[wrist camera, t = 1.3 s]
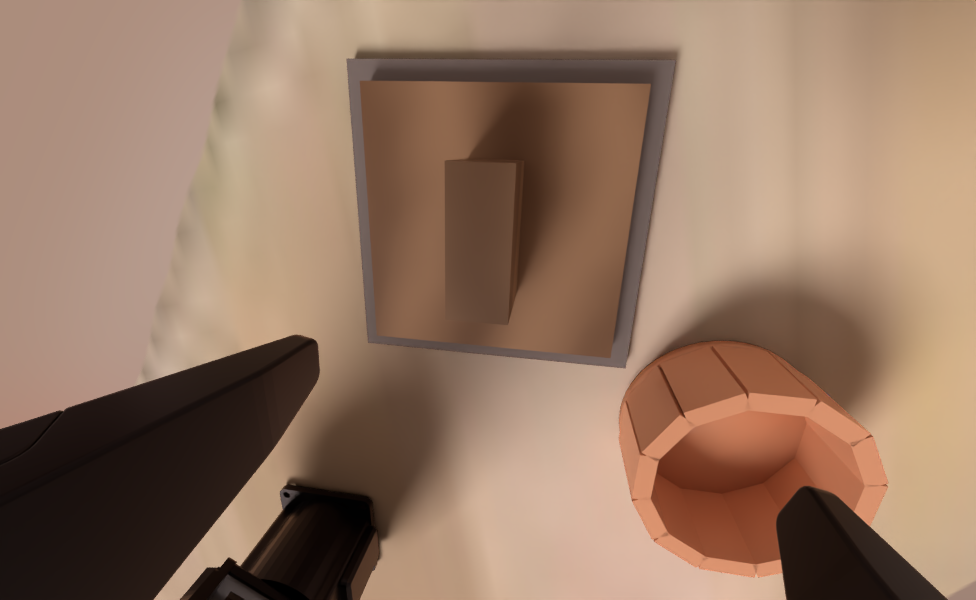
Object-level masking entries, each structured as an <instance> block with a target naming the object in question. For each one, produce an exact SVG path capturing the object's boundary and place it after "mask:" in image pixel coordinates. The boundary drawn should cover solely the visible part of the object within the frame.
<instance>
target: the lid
mask: <svg viewBox="0 0 976 600" xmlns="http://www.w3.org/2000/svg"><path fill="white" fill-rule="evenodd" d="M650 88H651V84H623V83H532V82H442V81H360V94H361V109H362V124H363V139H364V154H365V168H366V183H367V198H368V213H369V228H370V242H371V257H372V272H373V287H374V302H375V317H376V331H377V336H387V337H398V338H408V339H418V340H429V341H439V342H449V343H459V344H470V345H480V346H490V347H501V348H511V349H521V350H531V351H542V352H552V353H562V354H573V355H583V356H593V357H604V358H611V351H612V345H613V338H614V331H615V324H616V318H617V311H618V304H619V297H620V291H621V284H622V277H623V270H624V264H625V257H626V250H627V243H628V237H629V230H630V223H631V216H632V210H633V203H634V196H635V189H636V182H637V176H638V169H639V162H640V155H641V149H642V142H643V135H644V128H645V122H646V115H647V108H648V101H649V95H650Z"/></svg>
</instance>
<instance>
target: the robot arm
mask: <svg viewBox="0 0 976 600" xmlns="http://www.w3.org/2000/svg"><path fill="white" fill-rule="evenodd" d="M319 373H320V368H319V353H318V344H317V342H316V341H315V340H314V339H312V338H308V337H305V336H301V335H292V336H289V337H286V338H283V339H280V340H277V341H273V342H270V343H267V344H264V345H261V346H258V347H255V348H252V349H249V350H246V351H242V352H239V353H236V354H233V355H230V356H227V357H224V358H221V359H218V360H215V361H211V362H208V363H205V364H202V365H199V366H196V367H193V368H190V369H187V370H183V371H180V372H177V373H174V374H171V375H168V376H165V377H162V378H159V379H156V380H152V381H149V382H146V383H143V384H140V385H137V386H134V387H131V388H128V389H124V390H121V391H118V392H115V393H112V394H109V395H106V396H103V397H100V398H97V399H94V400H90V401H87V402H84V403H81V404H78V405H75V406H72V407H69V408H66V409H65V410H64V411H56V412H53V413H50V414H47V415H44V416H41V417H38V418H34V419H31V420H28V421H25V422H22V423H19V424H15V425H12V426H9V427H6V428H2V429H0V600H154V598H155V597H156V596H157V595H158V593H159V592H160V591H161V590H162V588H163V587H164V586H165V584H166V583H167V582H168V581H169V579H170V578H171V577H172V576H173V574H174V573H175V572H176V571H177V569H178V568H179V567H180V566H181V564H182V563H183V562H184V561H185V559H186V558H187V557H188V556H189V554H190V553H191V552H192V551H193V549H194V548H195V547H196V546H197V544H198V543H199V542H200V541H201V539H202V538H203V537H204V536H205V534H206V533H207V532H208V531H209V529H210V528H211V527H212V526H213V524H214V523H215V522H216V521H217V519H218V518H219V517H220V516H221V514H222V513H223V512H224V511H225V509H226V508H227V507H228V506H229V504H230V503H231V502H232V501H233V499H234V498H235V497H236V496H237V494H238V493H239V492H240V491H241V489H242V488H243V487H244V485H245V484H246V483H247V482H248V480H249V479H250V478H251V477H252V475H253V474H254V473H255V472H256V470H257V469H258V468H259V467H260V465H261V464H262V463H263V462H264V460H265V459H266V458H267V457H268V455H269V454H270V453H271V451H272V450H273V449H274V447H275V446H276V444H277V443H278V441H279V440H280V439H281V437H282V436H283V434H284V432H285V431H286V429H287V428H288V426H289V425H290V423H291V422H292V420H293V419H294V417H295V415H296V414H297V412H298V411H299V409H300V408H301V406H302V405H303V403H304V401H305V400H306V398H307V397H308V395H309V394H310V392H311V391H312V389H313V388H314V386H315V384H316V383H317V380H318V378H319ZM280 497H281V502H282V508H283V511H282V512H281V513H280V515H279V516H278V517H277V519H276V520H275V521H274V522H273V524H272V525H271V526H270V528H269V529H268V530H267V532H266V533H265V534H264V536H263V537H262V538H261V540H260V541H259V542H258V543H257V545H256V546H255V547H254V549H253V550H252V551H251V553H250V554H249V555H248V557H247V558H246V559H245V561H244V562H243V563H242V565H241V566H239V565H237V564H236V563H237V562H236V561H234V560H233V559H231V558H230V557H229V558H228V559H227V560H226V561H225V562H224V564H223V565H222V566H221V567H218V568H206V570H205V571H204V572H203V573H202V574H201V575H200V577H199V578H198V579H197V580H196V581H195V583H194V584H193V585H192V586H191V587H190V589H189V590H188V591H187V592H186V593H185V594H184V595H183V597H182V598H181V599H180V600H360V598H361V595H362V593H363V591H364V588H365V586H366V584H367V582H368V579H369V577H370V575H371V572H372V571H374V570H375V568H376V565H377V559H378V557H379V548H378V536H377V529H376V527H375V526H374V516H373V504H372V501H371V499H369V498H368V497H365V496H359V495H352V494H345V493H339V492H332V491H326V490H319V489H313V488H306V487H299V486H293V485H286V486H284V487H283V489H282V490H281V491H280ZM776 532H777V539H778V546H779V553H780V559H781V566H782V573H783V580H784V587H785V594H786V600H948V599H947V598H946V597H945V596H943V595H942V594H941V593H940V592H939V591H938V590H937V589H936V588H935V587H934V586H933V585H932V584H931V583H930V582H928V581H927V580H926V579H925V578H924V577H923V576H922V575H921V574H920V573H919V572H918V571H917V570H916V569H915V568H914V567H912V566H911V565H910V564H909V563H908V562H907V561H906V560H905V559H904V558H903V557H902V556H901V555H900V554H899V553H897V552H896V551H895V550H894V549H893V548H892V547H891V546H890V545H889V544H888V543H887V542H886V541H885V540H884V539H883V538H881V537H880V536H879V535H878V534H877V533H876V532H875V531H874V530H873V529H872V528H871V527H870V526H869V525H868V524H867V523H865V522H864V521H863V520H862V519H861V518H860V517H859V516H858V515H857V514H856V513H855V512H854V511H853V510H852V509H850V508H849V507H848V506H847V505H846V504H845V503H844V502H843V501H842V500H841V499H840V498H839V497H838V496H836V495H835V494H833V493H831V492H829V491H826V490H822V489H819V488H816V487H812V486H803V487H800V488H799V489H798V490H797V491H796V493H795V494H794V495H793V496H792V497H791V499H790V500H789V501H788V502H787V503H786V505H785V506H784V507H783V508H782V509H781V510H780V512H779V513H778V516H777V519H776Z"/></svg>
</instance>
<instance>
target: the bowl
mask: <svg viewBox="0 0 976 600" xmlns="http://www.w3.org/2000/svg"><path fill="white" fill-rule="evenodd" d="M619 428H620V434H619V443H620V447H621V452H622V457H623V461H624V466H625V470H626V475H627V480H628V484H629V489H630V494H631V498H632V502H633V504H634V506H635V508H636V510H637V512H638V513H639V515H640V517H641V519H642V521H643V523H644V525H645V527H646V529H647V531H648V533H649V534H650V536H651V538H652V539H654V542H656V543H657V544H659V545H660V546H662V547H664V548H665V549H667V550H668V551H670V552H672V553H673V554H675V555H677V556H678V557H680V558H681V559H683V560H685V561H686V562H688V563H689V564H691V565H693V566H694V567H698V566H699V569H704V570H710V571H716V572H723V573H729V574H735V575H741V576H748V577H755V574H757V576H758V577H763V576H768V575H773V574H779V573H782V566H781V559H780V553H779V546H778V539H777V532H776V519H777V516H778V513H779V512H780V510H781V509H782V508H783V507H784V506H785V505H786V503H787V502H788V501H789V500H790V499H791V497H792V496H793V495H794V494H795V493H796V491H797V490H798V489H799V488H800V487H803V486H812V487H816V488H819V489H822V490H826V491H829V492H831V493H833V494H835V495H836V496H838V497H839V498H840V499H841V500H842V501H843V502H844V503H845V504H846V505H847V506H848V507H849V508H850V509H852V510H853V511H854V512H855V513H856V514H857V515H858V516H859V517H860V518H861V519H862V520H863V521H864V522H865V523H867V524H868V525H869V526H870V525H871V523H872V521H873V519H874V516H875V514H876V512H877V510H878V508H879V506H880V503H881V501H882V499H883V497H884V495H885V493H886V490H887V488H888V486H887V485H886V484H888V480H887V477H886V474H885V471H884V468H883V465H882V462H881V459H880V456H879V453H878V450H877V447H876V444H875V441H874V438H873V436H872V435H871V433H869V432H868V431H867V430H866V429H865V428H864V427H863V426H862V425H861V424H859V423H858V422H857V421H856V420H855V419H854V418H853V417H852V416H851V415H849V414H848V413H847V412H846V411H845V410H844V409H843V408H842V407H841V406H840V405H838V404H837V403H836V402H835V401H834V400H833V399H832V398H831V397H830V396H828V395H827V394H826V393H825V392H824V391H823V390H822V389H821V388H820V387H818V386H817V385H816V384H815V383H814V382H813V381H812V380H811V379H810V378H808V377H807V376H805V375H804V374H802V373H801V372H799V371H798V370H796V369H795V368H794V367H792V366H791V365H790V364H789V363H788V362H786V361H785V360H784V359H783V358H781V357H780V356H778V355H776V354H774V353H773V352H771V351H769V350H766V349H764V348H761V347H759V346H755V345H752V344H748V343H743V342H736V341H706V342H700V343H695V344H691V345H687V346H684V347H681V348H678V349H676V350H673V351H671V352H669V353H667V354H665V355H663V356H661V357H660V358H658V359H656V360H655V361H654V362H652V363H651V364H650V365H648V366H647V367H646V368H645V369H644V370H643V371H642V372H641V373H639V374H638V376H637V377H636V378H635V379H634V381H633V382H632V383H631V385H630V386H629V388H628V390H627V391H626V393H625V396H624V398H623V401H622V404H621V408H620V414H619Z"/></svg>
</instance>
